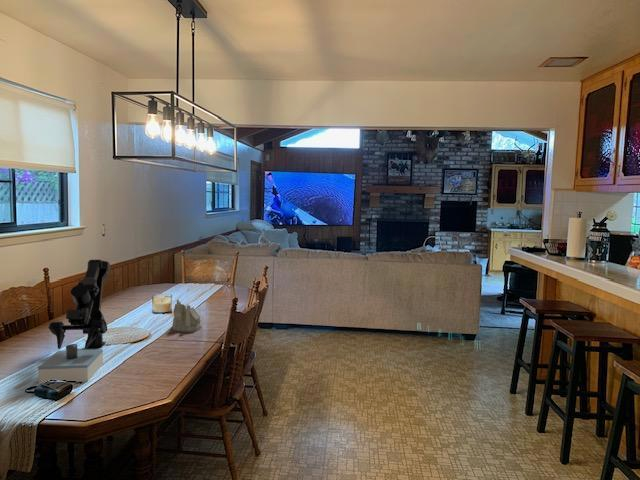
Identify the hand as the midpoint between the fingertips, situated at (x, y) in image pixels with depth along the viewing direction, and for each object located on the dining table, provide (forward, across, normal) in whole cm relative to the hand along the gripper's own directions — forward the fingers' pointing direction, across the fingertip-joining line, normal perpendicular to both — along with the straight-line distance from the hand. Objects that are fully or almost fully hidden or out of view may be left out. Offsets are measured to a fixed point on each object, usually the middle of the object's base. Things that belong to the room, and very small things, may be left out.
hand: (72, 348), depth 162 cm
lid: (+4, 0, +3) cm, 5 cm away
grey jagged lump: (-32, +34, +45) cm, 65 cm away
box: (+7, 0, +6) cm, 9 cm away
